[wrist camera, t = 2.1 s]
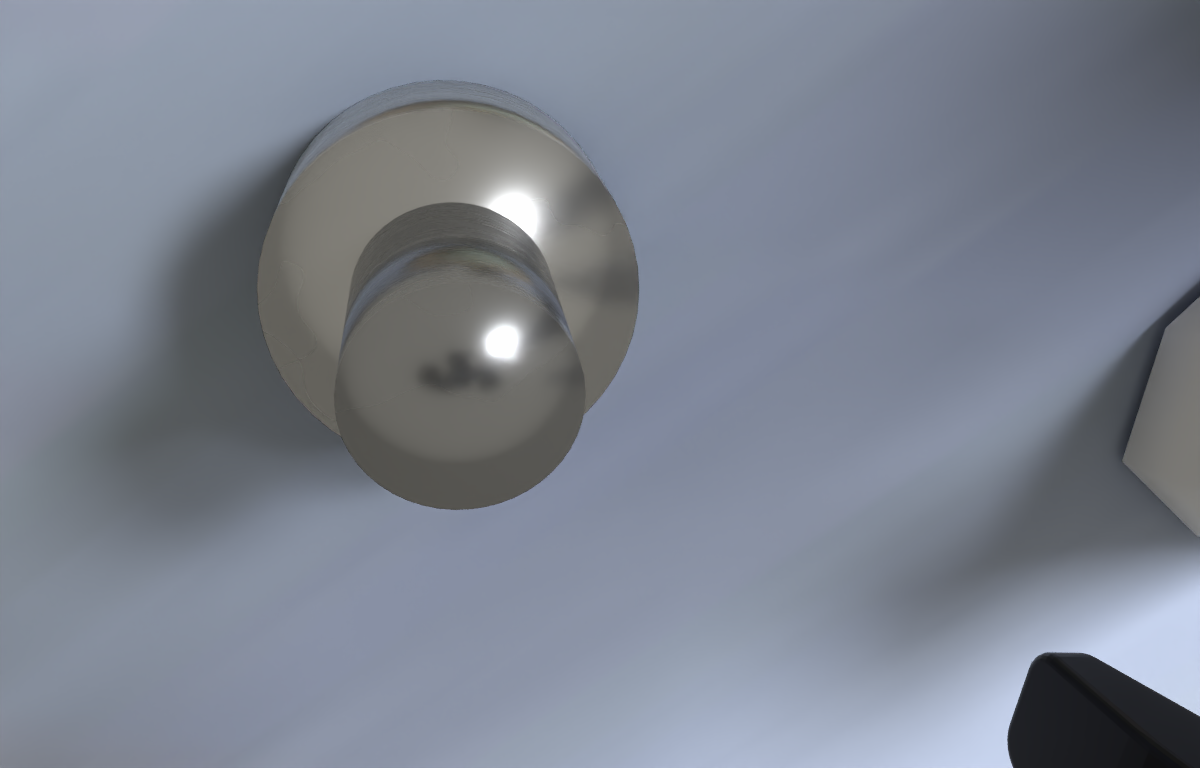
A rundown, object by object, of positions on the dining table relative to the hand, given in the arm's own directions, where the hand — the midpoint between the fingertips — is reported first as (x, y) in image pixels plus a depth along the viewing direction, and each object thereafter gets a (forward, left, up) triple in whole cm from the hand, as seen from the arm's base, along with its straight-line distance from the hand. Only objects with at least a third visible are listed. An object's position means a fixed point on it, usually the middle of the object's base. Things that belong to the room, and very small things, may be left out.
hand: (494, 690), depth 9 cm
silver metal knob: (0, 0, -11) cm, 11 cm away
